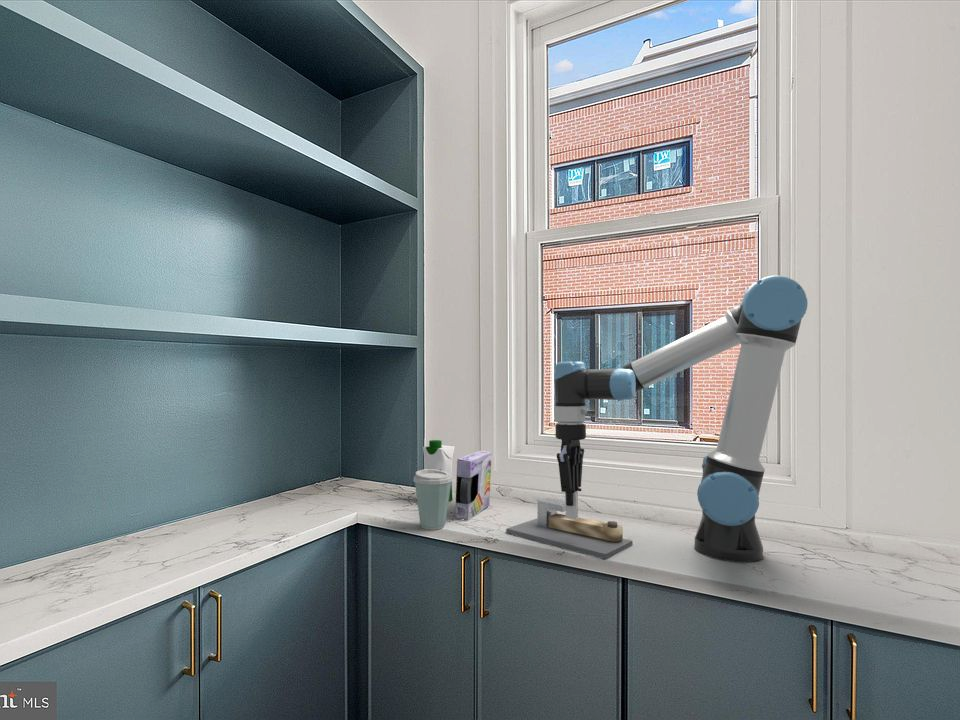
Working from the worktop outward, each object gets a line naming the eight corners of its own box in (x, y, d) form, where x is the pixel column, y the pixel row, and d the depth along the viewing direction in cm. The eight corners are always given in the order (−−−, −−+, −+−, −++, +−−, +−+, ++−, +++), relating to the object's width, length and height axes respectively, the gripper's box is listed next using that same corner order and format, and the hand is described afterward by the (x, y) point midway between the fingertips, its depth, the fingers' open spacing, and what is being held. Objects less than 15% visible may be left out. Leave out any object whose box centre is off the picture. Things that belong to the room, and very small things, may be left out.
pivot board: (632, 545, 133) (632, 540, 133) (605, 559, 123) (605, 554, 123) (536, 522, 152) (536, 518, 152) (506, 533, 142) (506, 528, 142)
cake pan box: (468, 522, 152) (469, 459, 152) (452, 520, 154) (453, 458, 154) (491, 507, 170) (492, 451, 170) (476, 505, 171) (477, 450, 172)
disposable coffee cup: (459, 525, 148) (460, 471, 148) (434, 535, 139) (436, 477, 139) (429, 519, 153) (430, 467, 154) (404, 528, 144) (405, 472, 145)
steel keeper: (572, 531, 144) (572, 502, 144) (562, 535, 140) (562, 505, 140) (547, 525, 149) (547, 497, 149) (537, 529, 145) (537, 500, 146)
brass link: (625, 538, 134) (625, 522, 134) (617, 543, 130) (617, 526, 130) (557, 523, 146) (557, 509, 146) (547, 527, 142) (548, 512, 142)
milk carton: (418, 502, 174) (420, 440, 175) (435, 496, 182) (436, 437, 182) (440, 505, 170) (441, 442, 170) (456, 500, 177) (458, 440, 178)
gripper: (575, 425, 127) (576, 526, 126) (593, 421, 138) (595, 514, 137) (546, 424, 130) (547, 522, 129) (566, 420, 142) (567, 510, 141)
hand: (571, 518), depth 133 cm, fingers closed
